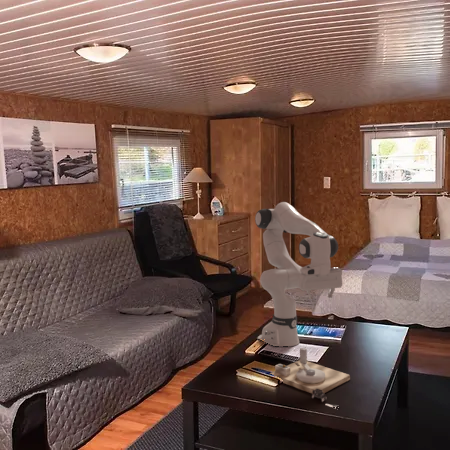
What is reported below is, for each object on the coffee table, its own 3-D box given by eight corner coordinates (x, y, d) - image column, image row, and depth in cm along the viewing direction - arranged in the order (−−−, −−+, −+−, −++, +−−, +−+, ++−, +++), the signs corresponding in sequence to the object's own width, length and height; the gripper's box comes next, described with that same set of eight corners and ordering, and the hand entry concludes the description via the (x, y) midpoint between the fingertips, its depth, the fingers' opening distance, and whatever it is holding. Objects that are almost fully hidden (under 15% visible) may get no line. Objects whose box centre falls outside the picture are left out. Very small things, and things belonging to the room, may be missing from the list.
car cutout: (306, 400, 205) (306, 389, 205) (316, 394, 210) (316, 384, 210) (340, 412, 195) (340, 400, 195) (349, 406, 200) (349, 394, 199)
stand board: (269, 377, 227) (269, 364, 226) (301, 363, 242) (301, 351, 241) (318, 396, 208) (318, 381, 207) (349, 379, 223) (350, 366, 222)
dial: (329, 382, 215) (329, 361, 214) (301, 384, 213) (301, 364, 212) (313, 364, 234) (313, 345, 233) (288, 366, 233) (287, 347, 231)
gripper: (338, 265, 242) (338, 294, 243) (297, 268, 237) (297, 298, 239) (344, 268, 236) (344, 298, 237) (302, 271, 231) (302, 302, 233)
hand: (320, 298), depth 238 cm, fingers open, 8 cm apart
